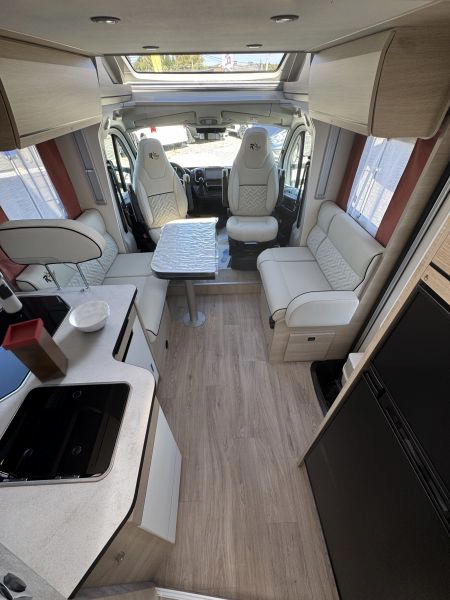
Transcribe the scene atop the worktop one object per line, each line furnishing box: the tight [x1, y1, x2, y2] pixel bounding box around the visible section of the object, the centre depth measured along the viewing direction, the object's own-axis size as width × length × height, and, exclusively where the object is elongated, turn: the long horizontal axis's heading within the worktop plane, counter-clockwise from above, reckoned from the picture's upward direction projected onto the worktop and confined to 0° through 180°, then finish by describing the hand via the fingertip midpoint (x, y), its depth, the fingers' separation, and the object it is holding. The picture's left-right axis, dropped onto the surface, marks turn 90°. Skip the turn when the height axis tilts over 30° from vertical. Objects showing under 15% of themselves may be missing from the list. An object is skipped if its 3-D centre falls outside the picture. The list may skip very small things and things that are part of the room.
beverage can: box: [0, 278, 23, 314], centre depth 84 cm, size 5×5×12 cm
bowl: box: [68, 300, 111, 333], centre depth 125 cm, size 18×18×7 cm
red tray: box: [1, 317, 44, 352], centre depth 91 cm, size 10×10×2 cm
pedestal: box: [9, 326, 69, 384], centre depth 100 cm, size 9×9×23 cm
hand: (3, 294), depth 84 cm, fingers closed on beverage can, 4 cm apart
